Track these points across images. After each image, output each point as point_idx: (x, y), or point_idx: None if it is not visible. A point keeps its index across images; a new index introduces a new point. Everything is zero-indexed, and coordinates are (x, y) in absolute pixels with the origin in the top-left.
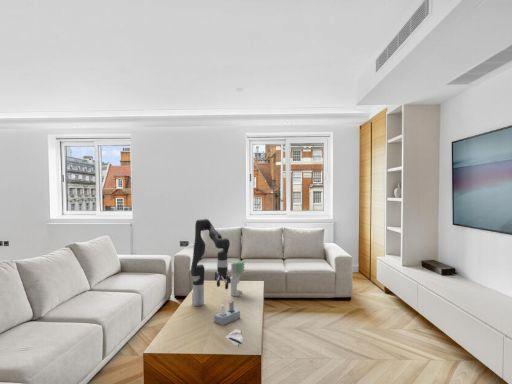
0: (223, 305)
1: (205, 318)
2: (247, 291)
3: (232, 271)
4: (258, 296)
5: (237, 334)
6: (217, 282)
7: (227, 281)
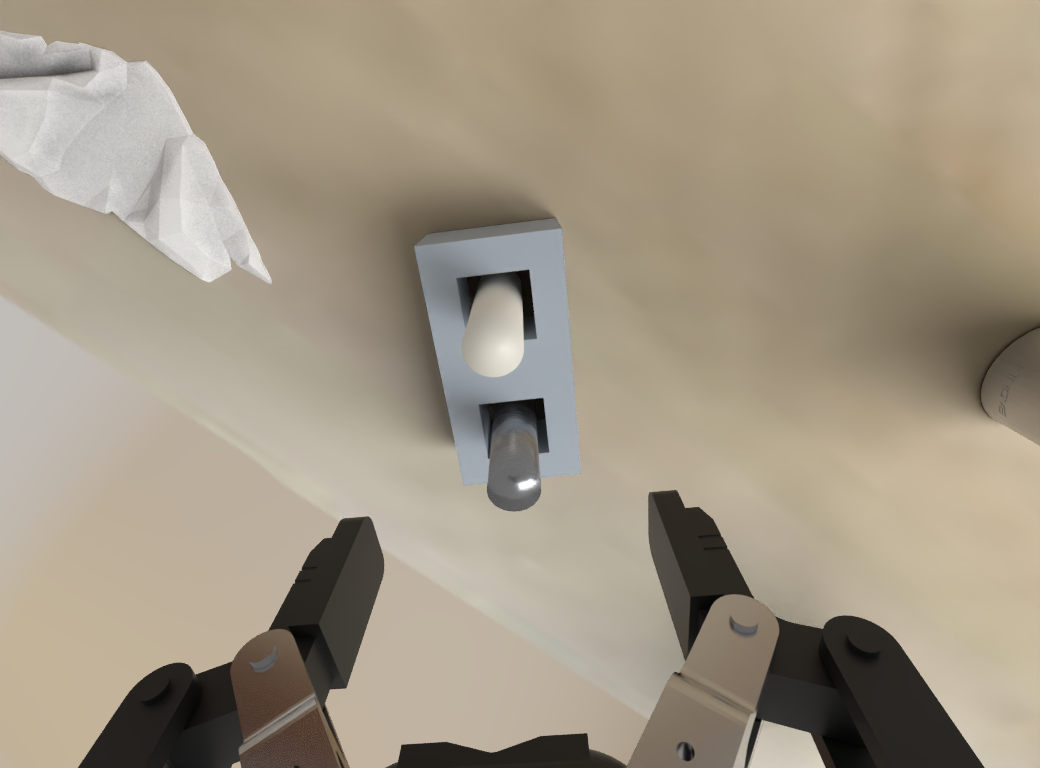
0: (475, 348)
1: (699, 203)
2: None
3: None
4: None
5: (143, 200)
6: (697, 581)
7: (117, 755)
